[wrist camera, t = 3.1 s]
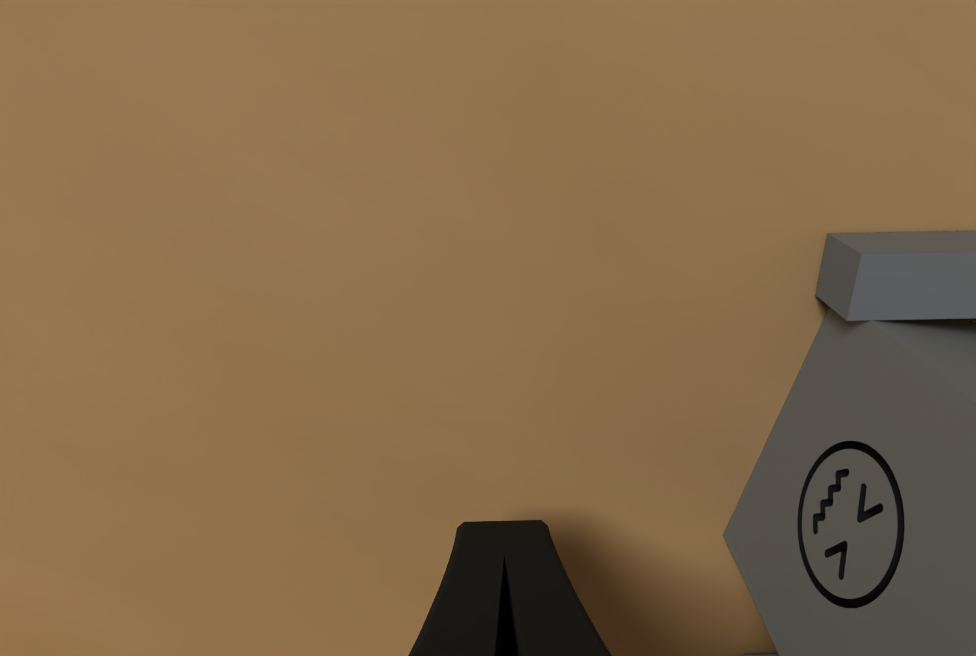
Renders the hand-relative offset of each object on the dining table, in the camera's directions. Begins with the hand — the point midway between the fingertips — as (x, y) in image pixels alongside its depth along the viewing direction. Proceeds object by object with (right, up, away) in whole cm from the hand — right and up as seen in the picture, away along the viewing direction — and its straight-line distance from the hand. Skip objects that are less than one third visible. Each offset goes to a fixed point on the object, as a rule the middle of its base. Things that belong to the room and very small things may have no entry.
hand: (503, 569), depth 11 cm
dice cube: (+7, +2, +1) cm, 8 cm away
